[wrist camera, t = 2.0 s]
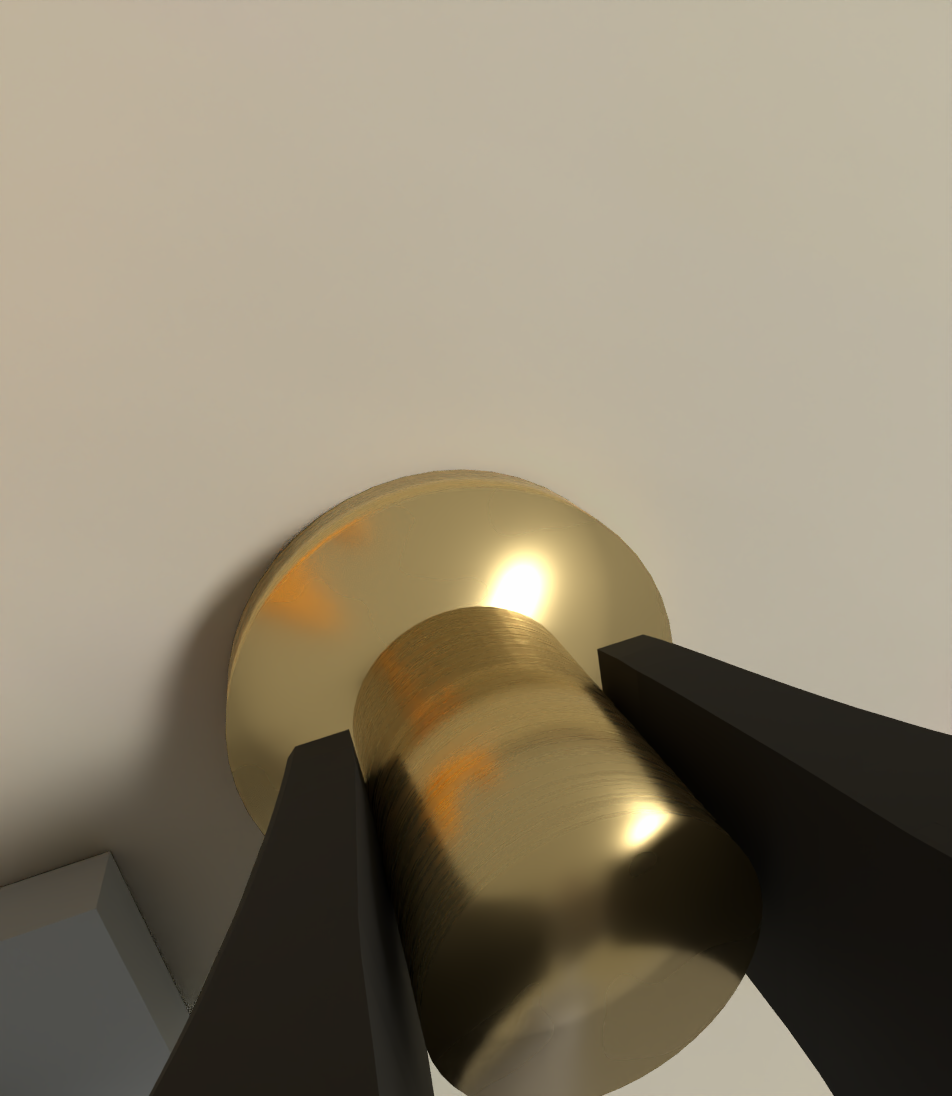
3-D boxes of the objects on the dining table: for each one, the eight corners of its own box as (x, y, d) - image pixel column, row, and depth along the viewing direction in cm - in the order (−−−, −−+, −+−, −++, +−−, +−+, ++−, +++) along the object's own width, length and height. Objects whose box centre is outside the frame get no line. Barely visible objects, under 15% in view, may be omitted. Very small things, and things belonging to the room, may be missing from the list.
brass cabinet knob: (654, 772, 12) (895, 1059, 8) (297, 903, 11) (332, 1334, 6) (617, 421, 10) (926, 534, 5) (161, 539, 9) (70, 810, 4)
